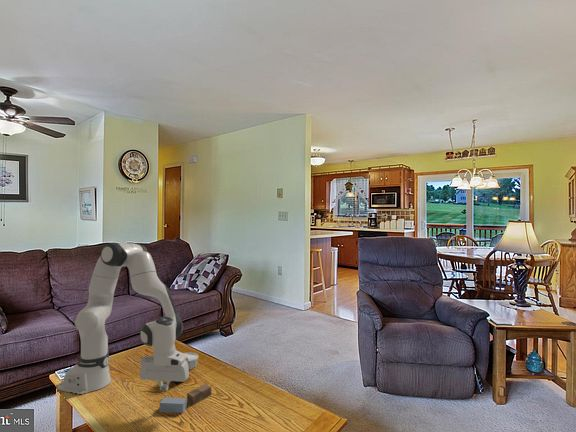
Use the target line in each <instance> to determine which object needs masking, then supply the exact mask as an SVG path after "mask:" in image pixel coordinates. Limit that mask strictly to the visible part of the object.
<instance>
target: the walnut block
mask: <svg viewBox="0 0 576 432" xmlns="http://www.w3.org/2000/svg"><path fill="white" fill-rule="evenodd" d="M211 395H212V386H211V385H209V384H207V383H205V384H202V385H200V386H198V387H197V388H195V389H193V390H191V391H189V392H186V398H187V404H190V405H192V406H195V405H196V404H198V403H199V402H201V401H204V400H205V399H208V397H211Z"/></svg>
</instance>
